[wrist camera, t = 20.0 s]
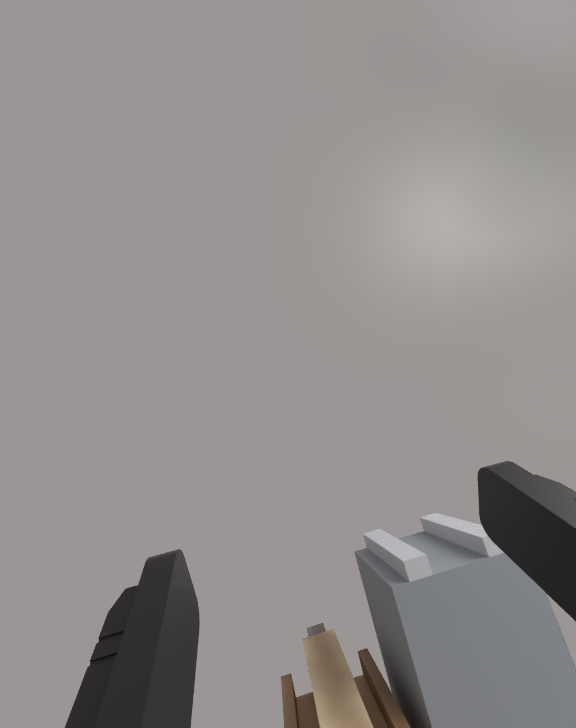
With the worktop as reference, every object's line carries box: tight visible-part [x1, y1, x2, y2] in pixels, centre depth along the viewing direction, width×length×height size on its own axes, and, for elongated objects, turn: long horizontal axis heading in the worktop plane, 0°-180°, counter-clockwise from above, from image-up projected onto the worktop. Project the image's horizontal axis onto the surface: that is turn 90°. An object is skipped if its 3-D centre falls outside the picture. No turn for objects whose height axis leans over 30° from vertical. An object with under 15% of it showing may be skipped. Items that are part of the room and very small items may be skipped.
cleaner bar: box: [302, 623, 373, 728], centre depth 28 cm, size 4×26×4 cm, turn 3°
